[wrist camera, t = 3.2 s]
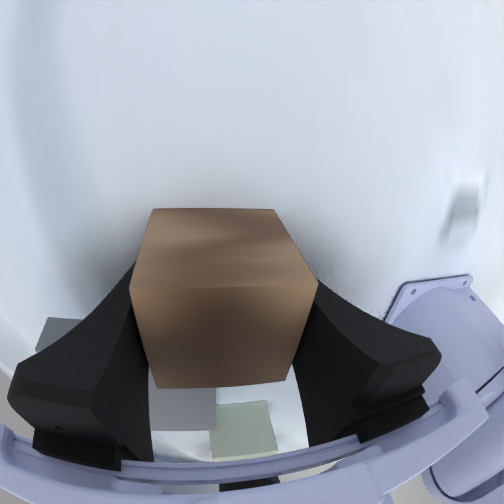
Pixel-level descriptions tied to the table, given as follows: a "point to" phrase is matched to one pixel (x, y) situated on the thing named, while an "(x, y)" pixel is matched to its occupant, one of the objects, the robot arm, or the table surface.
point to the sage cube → (242, 432)
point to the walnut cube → (219, 297)
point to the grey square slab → (155, 392)
